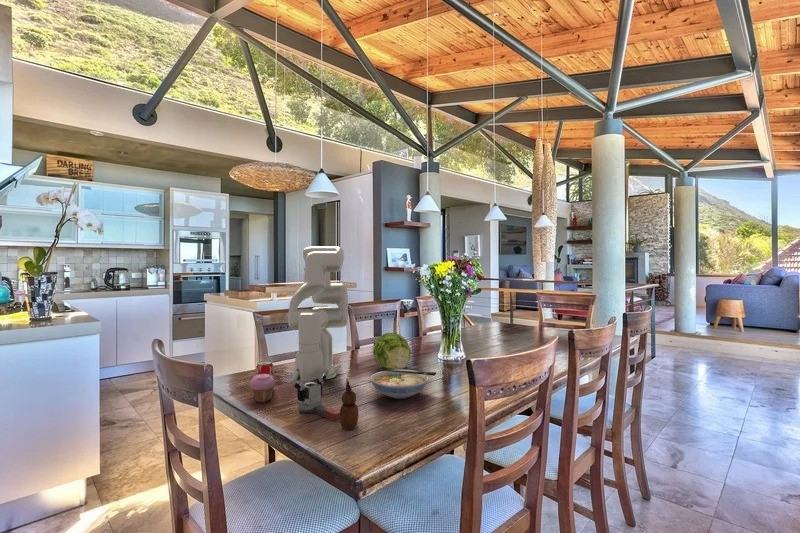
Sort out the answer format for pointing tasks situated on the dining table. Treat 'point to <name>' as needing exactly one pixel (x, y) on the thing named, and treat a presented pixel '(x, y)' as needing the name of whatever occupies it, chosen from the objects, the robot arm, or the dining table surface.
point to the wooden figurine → (348, 409)
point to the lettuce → (392, 351)
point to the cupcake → (262, 387)
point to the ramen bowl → (400, 382)
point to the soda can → (265, 368)
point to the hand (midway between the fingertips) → (310, 397)
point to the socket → (312, 393)
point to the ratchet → (320, 411)
